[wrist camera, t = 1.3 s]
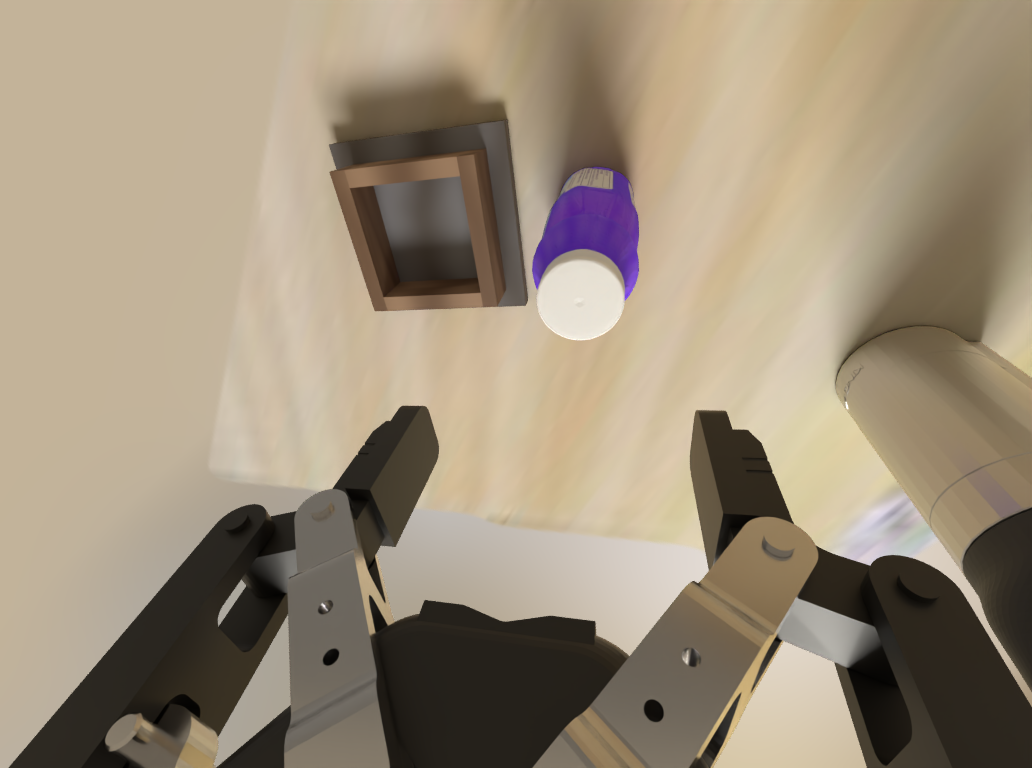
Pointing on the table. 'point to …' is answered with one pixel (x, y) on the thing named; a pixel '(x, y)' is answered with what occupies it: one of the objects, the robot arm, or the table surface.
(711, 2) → the table surface
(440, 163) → the open box
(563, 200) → the bottle
